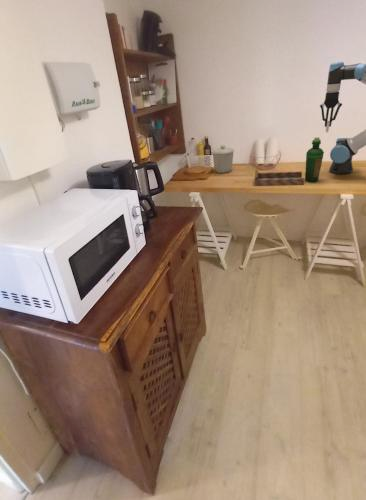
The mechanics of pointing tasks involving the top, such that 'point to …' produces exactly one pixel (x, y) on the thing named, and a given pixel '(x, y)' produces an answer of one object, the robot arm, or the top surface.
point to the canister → (223, 159)
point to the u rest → (278, 178)
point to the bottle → (313, 161)
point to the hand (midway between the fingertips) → (326, 131)
